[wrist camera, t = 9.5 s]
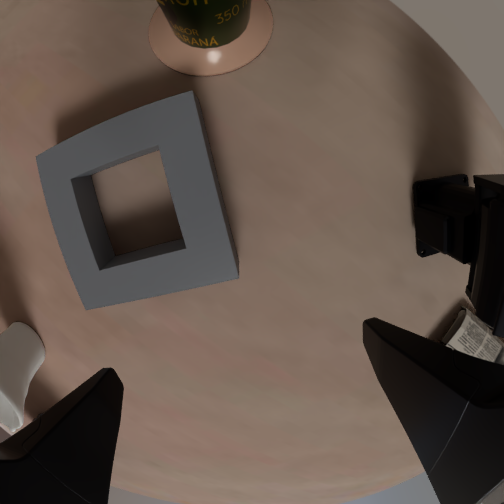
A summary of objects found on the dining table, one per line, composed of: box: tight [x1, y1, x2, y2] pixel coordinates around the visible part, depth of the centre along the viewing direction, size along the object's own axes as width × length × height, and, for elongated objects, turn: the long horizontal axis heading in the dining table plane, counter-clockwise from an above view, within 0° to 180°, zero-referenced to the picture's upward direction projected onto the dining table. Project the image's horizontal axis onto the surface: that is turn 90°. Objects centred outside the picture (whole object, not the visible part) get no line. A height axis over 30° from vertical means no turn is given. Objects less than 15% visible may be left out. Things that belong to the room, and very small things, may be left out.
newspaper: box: [442, 306, 504, 365], centre depth 28 cm, size 35×12×4 cm, turn 60°
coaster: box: [148, 0, 273, 76], centre depth 15 cm, size 9×9×1 cm
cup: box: [0, 322, 45, 432], centre depth 18 cm, size 9×9×10 cm
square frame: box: [36, 91, 239, 310], centre depth 18 cm, size 12×12×3 cm
